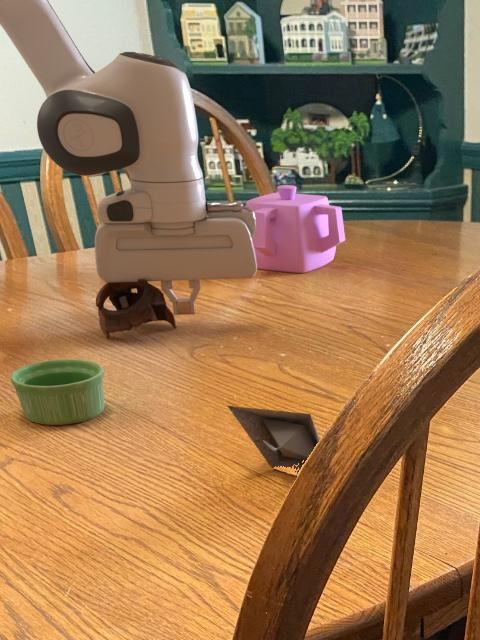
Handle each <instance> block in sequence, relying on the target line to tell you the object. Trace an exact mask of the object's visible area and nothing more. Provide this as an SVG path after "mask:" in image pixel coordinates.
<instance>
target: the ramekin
mask: <svg viewBox="0 0 480 640" xmlns="http://www.w3.org/2000/svg"><path fill="white" fill-rule="evenodd" d="M104 372H105V371H104V368H103V366H101V365H100V364H99V363H97V362H95V361H91V360H86V359H78V358H62V359H61V358H60V359H58V358H57V359H50V360H42V361H39V362H38V361H37V362H33V363H29V364H27V365H23V366H21V367H19V368H17V369H16V370H14V371H13V372H12V373H11V374H10V378H9V379H10V382H11V384H12V386H13V387H14V389H15V392H16V394H17V398H18V400H19V403H20V407H21V410H22V412H23V415H24V417H25V418H26V419H27V420H28V421H31V422H33V423H36V424H39V425H45V426H64V425H71V424H72V425H73V424H78V423H83V422H86V421H89V420H91V419H94V418H96V417H98V416H99V415H100V414H102V413H103V411H104V410H105V406H106V405H105V404H106V403H105V391H104V380H103V379H104V375H105V374H104Z"/></svg>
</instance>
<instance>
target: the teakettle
mask: <svg viewBox="0 0 480 640" xmlns="http://www.w3.org/2000/svg"><path fill="white" fill-rule="evenodd" d="M276 189H277V192H271V193H268V194H264V195H261V196H257V197H254V198H251V199H249V200H247V201H246V202H245V206H247V207H249V208H250V209H251V210H252V211H253V213H254V215H255V221H256V233H255V235H254V237H253V238H252V242H253V246H254V250H255V256H256V263H257V270H264V271H272V272H281V273H282V272H283V273H293V274H304V273H309V272H311V271H315V270H317V269H319V268H323V267H325V266H326V265H328V264H330V263H331V262H332V261H333V260H334V258H335V255H336V250H337V246H338V245H341V243H343V242H345V241H346V234H345V226H344V218H343V211H342V206H338V205H331V204H330V203H329V199H328V196H326V195H318V194H308V193H307V194H306V193H296V192H297V186H296V185H292V184H282V185H278V186H277V187H276ZM236 202H240V203H242V201H241V200H238V201H236ZM242 205H244V204H243V203H242ZM242 211H247V210H246V209H243V210H242Z"/></svg>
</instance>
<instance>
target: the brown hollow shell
mask: <svg viewBox="0 0 480 640" xmlns="http://www.w3.org/2000/svg"><path fill="white" fill-rule="evenodd" d="M132 290H136V292H132ZM164 295H165V293H164V292H163V291H162V290H161V289H160V288H158V287H156V286H155V285H153V284H151V283H149V281H146V280H145V279H138V282H110V283H107V282H105V284H104V285H102V286H101V288H100V289H99V291H98V293H97V294H96V297H95V306H96V307H97V314H98V317H99V318H98V320H99V328H100V330H101V332H102V334H103V336H105V338H107V340H109V339H110V338H111V333H112V334H113V333H119V332H125V331H131V330H133V328H134V327H136V328H138V327H139V326H141V325H143V324H149V323H151V322H163V321H164V322H167V323H169V324H170V325H171V327H172V328H173V329H177V324H176V319H175V315H174V312H172V311H171V309H170V308H169V307H168V305H167V302H166V298H165V296H164ZM107 299H108V300H109V301H110V302H111V305H112V307H114V308H115V310H113V309H108V308H106V307H105V306H104V304H105V303H106V301H107Z"/></svg>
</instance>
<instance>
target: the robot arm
mask: <svg viewBox="0 0 480 640" xmlns="http://www.w3.org/2000/svg"><path fill="white" fill-rule="evenodd" d="M0 26H1V28H2V29H3V30H4V32H5V33H6V35H7V36H8V38H9V39H10V41H11V42H12V44H13V45H14V47H15V49H16V50H17V51H18V53H19V54H20V56H21V58H22V59H23V61H24V62H25V64H26V65H27V67H28V68H29V70H30V71H31V72H32V74H33V75H34V78H35V79H36V80H37V82H38V83H39V85H40V86H41V88H42V90H43V92H44V94H45V97H46V99H45V100H44V101H43V102H42V104H41V106H40V108H39V109H38V113H37V117H36V131H37V135H38V140H39V142H40V144H41V146H42V148H43V150H44V152H45V153H46V154H47V156H48V157H49V158H50V160H52V162H53V163H55V164H56V165H57V166H58V167H59V168H61V169H62V170H64V171H66V172H68V173H71V174H74V175H77V176H82V177H97V176H102V175H104V174H106V173H109V172H115V171H118V170H127V172H128V176H129V181H130V187H129V188H127V189H124V190H120V191H117V192H115V193H112V194H110V195H106V196H104V197H103V198H101V199H100V201H98V203H97V205H96V213H97V217H98V219H99V221H100V223H99V225H98V226H97V229H96V231H95V234H94V257H95V267H96V272H97V276H98V277H99V278H100V279H101V280H102V281H103V282H104V283H110V282H138V279H145V280H146V281H147V282H160V286H161V291H162V293H163V294H164V295H165V296H166V297H167V299H168V300H169V301H170V302H171V303H172V309H173V315H174V316H182V315H183V316H184V315H185V316H186V315H196V305H195V301H196V300H197V297H198V295H199V293H200V290H201V281H205V280H239V279H242V280H243V279H253V278H254V277H255V275H256V274H257V272H258V269H257V263H256V256H255V250H254V246H253V242H252V238H253V237H254V235H255V233H256V221H255V215H254V213H253V211H252V210H251V209H250V208H249V207H247V206H246V205H244V204H243V202H241V203H240V202H237V201H232V202H220V201H207V199H206V191H205V190H206V189H205V181H204V174H203V170H202V168H201V165H200V162H199V158H198V146H199V130H198V121H197V115H196V108H195V103H194V97H193V92H192V89H191V85H190V82H189V79H188V76H187V75H186V73H185V72H184V71H183V70H182V68H181V67H180V66H179V65H178V64H177V63H175V62H174V61H172V60H170V59H168V58H167V59H166V58H164V57H161V56H157V55H152V54H147V53H142V52H136V51H123V52H120V53H118V54H117V56H116V57H115V58H114V59H113V60H112V61H111V62H109V63H108V64H106V65H105V66H104V67H102V68H101V69H99V70H98V71H95V70H93V69H92V67H91V66H90V65H89V64H88V62H87V61H86V59H85V58H84V56H83V55H82V53H81V52H80V50H79V49H78V47H77V45H76V44H75V42H74V40H73V39H72V37H71V35H70V34H69V32H68V31H67V29H66V28H65V25H64V24H63V22H62V21H61V19H60V18H59V16H58V14H57V12H56V11H55V9H54V8H53V6H52V5H51V3H50V1H49V0H0ZM242 204H243V205H242ZM243 209H246V210H247V211H242V210H243ZM173 281H175V282H176V281H188V285H189V289H192V290H191V292H190V294H189V297H187V298H178V297H177V295H176V294H175V292H174V291H173V290H172V289H173V288H174V282H173Z"/></svg>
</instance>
